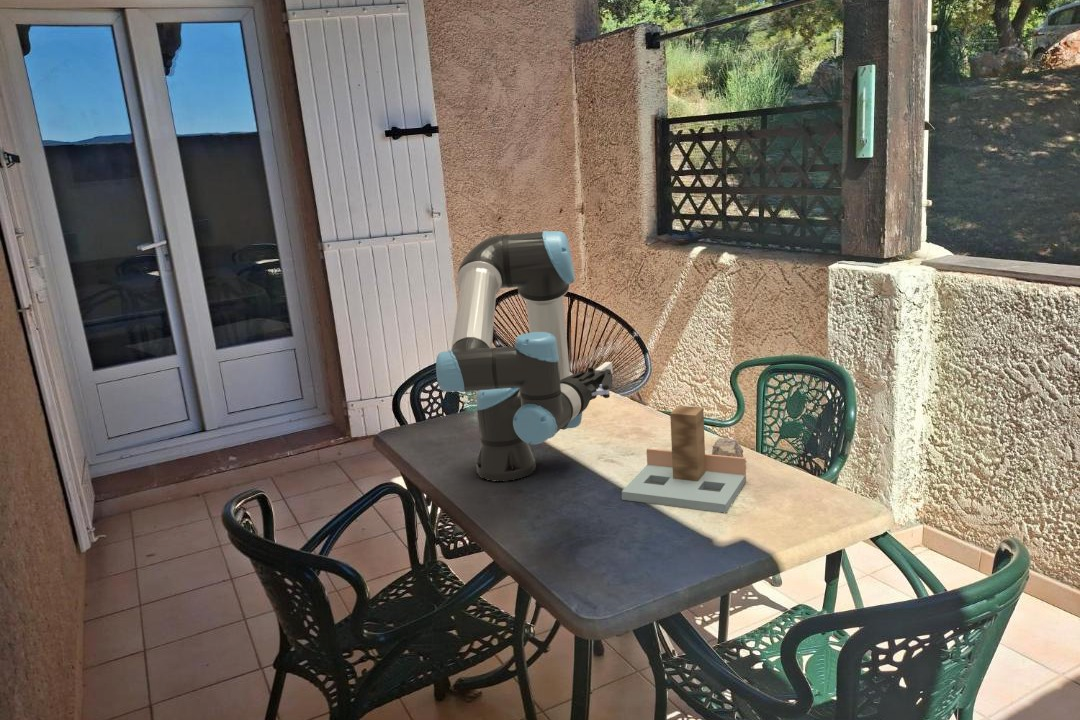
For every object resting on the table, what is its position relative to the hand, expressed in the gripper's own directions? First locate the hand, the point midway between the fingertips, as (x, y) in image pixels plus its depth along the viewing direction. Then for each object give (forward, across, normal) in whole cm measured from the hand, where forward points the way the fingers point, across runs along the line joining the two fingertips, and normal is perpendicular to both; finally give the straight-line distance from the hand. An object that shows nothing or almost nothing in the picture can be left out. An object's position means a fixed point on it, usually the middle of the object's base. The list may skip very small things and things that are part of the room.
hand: (609, 367), depth 179 cm
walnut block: (+13, +13, -29) cm, 35 cm away
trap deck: (+8, +13, -31) cm, 35 cm away
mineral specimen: (+26, +19, -32) cm, 45 cm away
